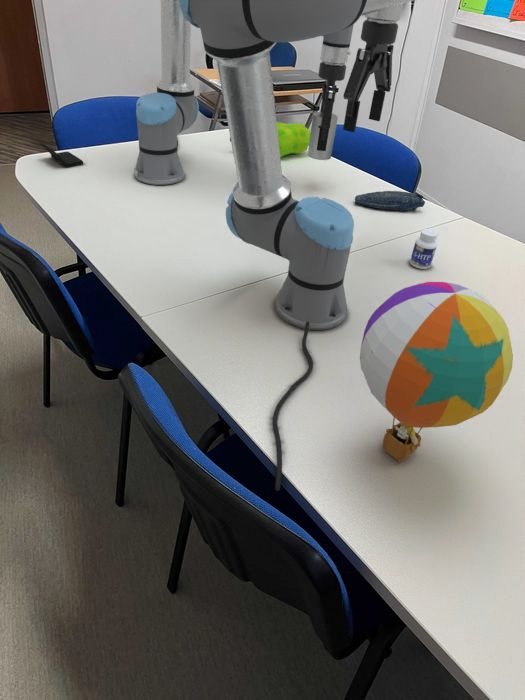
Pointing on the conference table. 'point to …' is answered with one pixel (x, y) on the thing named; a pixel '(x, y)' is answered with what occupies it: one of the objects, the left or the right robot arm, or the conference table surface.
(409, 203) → the fish model
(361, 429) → the conference table surface
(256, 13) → the right robot arm
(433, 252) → the pill bottle
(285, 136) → the decorative tree
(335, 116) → the can
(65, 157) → the black handled piece
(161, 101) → the left robot arm
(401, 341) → the toy
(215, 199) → the conference table surface
